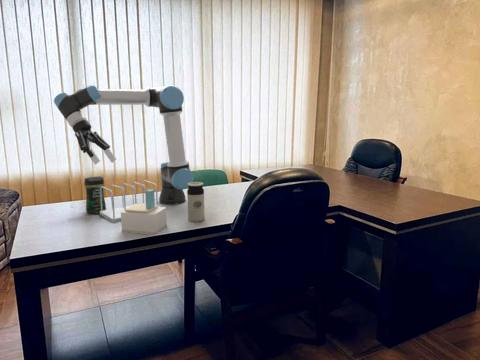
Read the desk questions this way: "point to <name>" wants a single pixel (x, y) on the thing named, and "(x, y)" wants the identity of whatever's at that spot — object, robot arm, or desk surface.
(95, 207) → the coffee jar
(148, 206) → the flap
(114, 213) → the file sorter
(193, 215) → the dark labelled jar
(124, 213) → the carton
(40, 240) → the desk surface
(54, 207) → the desk surface
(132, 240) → the desk surface
